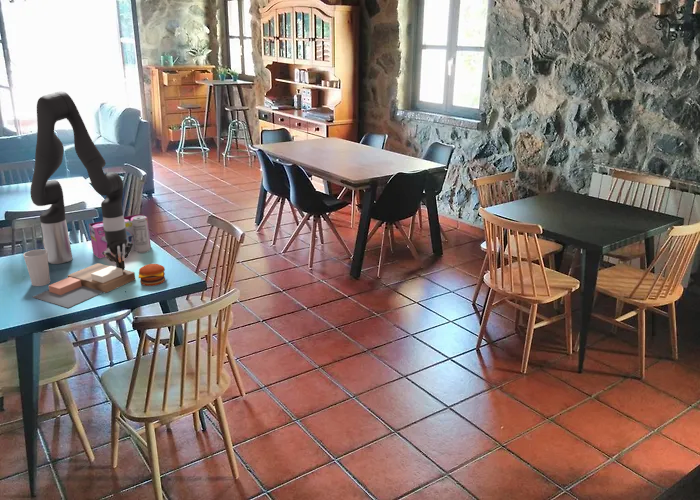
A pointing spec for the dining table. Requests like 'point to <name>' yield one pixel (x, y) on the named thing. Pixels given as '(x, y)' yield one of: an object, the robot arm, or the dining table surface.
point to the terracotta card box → (65, 285)
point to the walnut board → (105, 287)
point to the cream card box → (106, 274)
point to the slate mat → (69, 296)
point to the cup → (37, 266)
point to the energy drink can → (140, 234)
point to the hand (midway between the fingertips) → (121, 270)
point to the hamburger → (152, 274)
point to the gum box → (99, 236)
